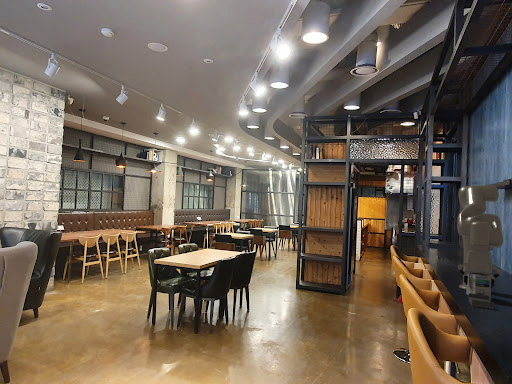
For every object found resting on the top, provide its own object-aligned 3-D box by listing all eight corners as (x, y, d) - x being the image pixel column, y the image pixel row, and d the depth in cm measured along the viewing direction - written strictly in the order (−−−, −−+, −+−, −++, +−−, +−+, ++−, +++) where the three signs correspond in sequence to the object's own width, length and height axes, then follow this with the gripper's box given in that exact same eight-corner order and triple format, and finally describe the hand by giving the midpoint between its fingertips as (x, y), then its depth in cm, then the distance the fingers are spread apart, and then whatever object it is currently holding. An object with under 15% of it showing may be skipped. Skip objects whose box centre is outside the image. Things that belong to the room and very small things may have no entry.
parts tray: (468, 298, 158) (468, 293, 158) (488, 301, 155) (488, 295, 155) (471, 306, 145) (471, 299, 145) (493, 309, 142) (494, 302, 142)
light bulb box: (491, 301, 157) (492, 276, 157) (474, 299, 158) (475, 275, 158) (481, 295, 167) (481, 272, 168) (465, 294, 168) (466, 271, 169)
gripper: (500, 250, 163) (499, 287, 162) (457, 246, 171) (456, 282, 170) (503, 251, 156) (502, 290, 155) (458, 247, 164) (457, 284, 163)
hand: (478, 286), depth 162 cm, fingers open, 9 cm apart
